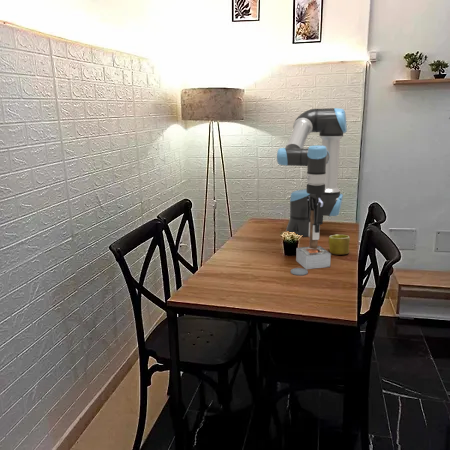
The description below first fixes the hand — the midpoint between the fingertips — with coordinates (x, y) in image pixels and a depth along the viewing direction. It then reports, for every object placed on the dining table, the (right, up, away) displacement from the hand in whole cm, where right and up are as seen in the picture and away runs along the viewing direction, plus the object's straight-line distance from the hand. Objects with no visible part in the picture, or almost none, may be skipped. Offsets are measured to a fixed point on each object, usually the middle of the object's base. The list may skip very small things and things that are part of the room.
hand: (313, 238), depth 186 cm
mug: (+15, -7, +18) cm, 25 cm away
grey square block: (0, -11, +3) cm, 12 cm away
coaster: (-7, -14, -6) cm, 17 cm away
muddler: (0, -4, +1) cm, 4 cm away
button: (0, -8, +2) cm, 8 cm away
